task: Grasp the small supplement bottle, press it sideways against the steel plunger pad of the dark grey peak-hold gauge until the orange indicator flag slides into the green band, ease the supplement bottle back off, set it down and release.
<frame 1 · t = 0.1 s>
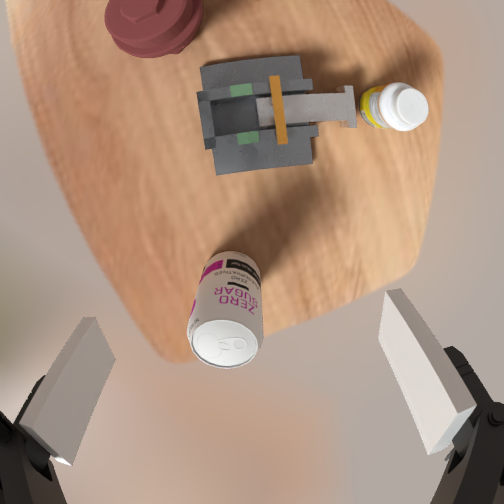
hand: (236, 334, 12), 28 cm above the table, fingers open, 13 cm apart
supplement can: (231, 274, 43), on the table
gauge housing: (257, 113, 34), on the table
plunger: (307, 108, 30), point 4 cm above the table, slide at 0.0 cm
mechanical component: (172, 33, 29), on the table
supplement bottle: (375, 107, 33), on the table
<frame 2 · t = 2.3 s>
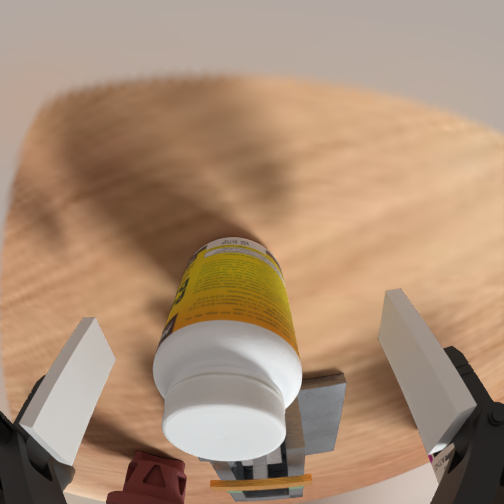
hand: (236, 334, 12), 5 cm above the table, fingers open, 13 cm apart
supplement can: (445, 410, 26), on the table
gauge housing: (260, 424, 24), on the table
plunger: (254, 432, 18), point 4 cm above the table, slide at 0.0 cm
mechanical component: (159, 460, 28), on the table
supplement bottle: (233, 276, 17), on the table
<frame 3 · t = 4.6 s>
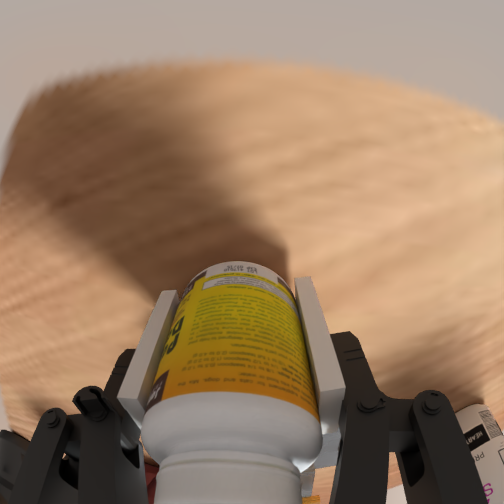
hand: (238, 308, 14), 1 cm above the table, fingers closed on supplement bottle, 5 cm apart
supplement can: (456, 421, 24), on the table
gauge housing: (266, 440, 22), on the table
plunger: (261, 453, 16), point 4 cm above the table, slide at 0.0 cm
mechanical component: (160, 470, 26), on the table
supplement bottle: (238, 304, 15), point 1 cm above the table, touching gripper
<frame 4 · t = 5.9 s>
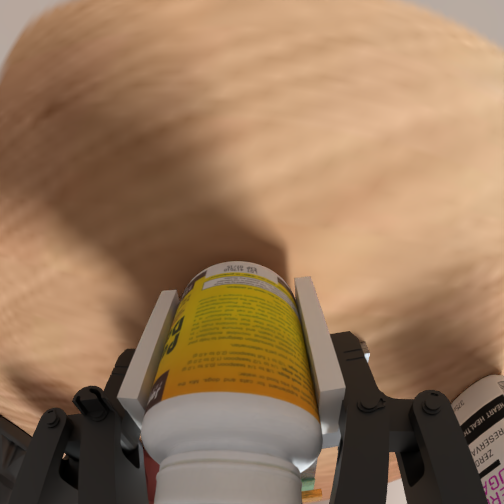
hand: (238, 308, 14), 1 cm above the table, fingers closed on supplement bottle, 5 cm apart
supplement can: (472, 396, 22), on the table
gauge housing: (261, 410, 20), on the table
plunger: (259, 443, 15), point 4 cm above the table, slide at 3.3 cm, touching supplement bottle
mechanical component: (145, 453, 24), on the table
supplement bottle: (238, 304, 15), point 1 cm above the table, touching gripper, plunger
when the fingers open (0 cm above the table, at t = 7.9 s): supplement bottle stays where it is, on the table.
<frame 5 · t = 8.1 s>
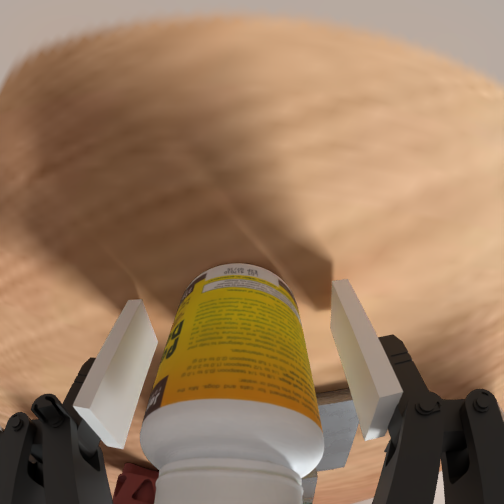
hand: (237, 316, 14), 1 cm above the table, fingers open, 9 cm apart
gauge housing: (263, 441, 20), on the table
mechanical component: (152, 472, 25), on the table
supplement bottle: (239, 307, 15), on the table
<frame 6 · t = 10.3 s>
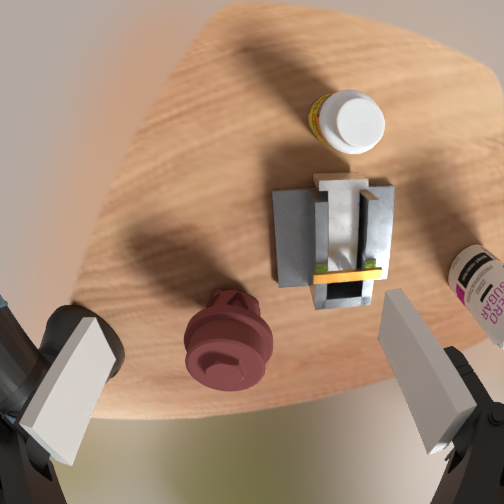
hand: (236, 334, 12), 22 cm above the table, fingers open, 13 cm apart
supplement can: (466, 267, 36), on the table
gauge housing: (334, 235, 34), on the table
plunger: (343, 231, 30), point 4 cm above the table, slide at 3.3 cm
mechanical component: (234, 304, 39), on the table
supplement bottle: (331, 119, 29), on the table
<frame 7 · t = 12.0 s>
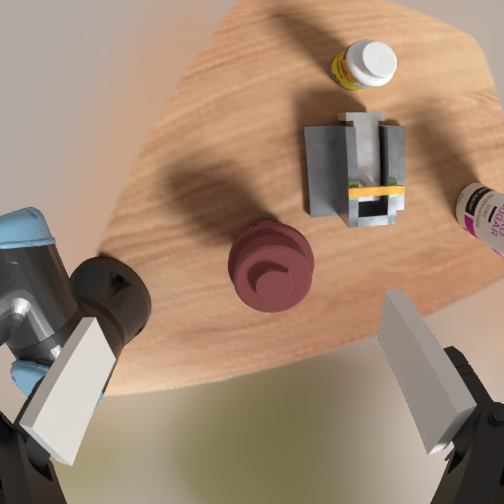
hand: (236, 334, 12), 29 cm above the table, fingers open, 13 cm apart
supplement can: (470, 205, 39), on the table
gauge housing: (357, 168, 37), on the table
plunger: (367, 157, 33), point 4 cm above the table, slide at 3.3 cm
mechanical component: (267, 239, 42), on the table
supplement bottle: (348, 71, 32), on the table
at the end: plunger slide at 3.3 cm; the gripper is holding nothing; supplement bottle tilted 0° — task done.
